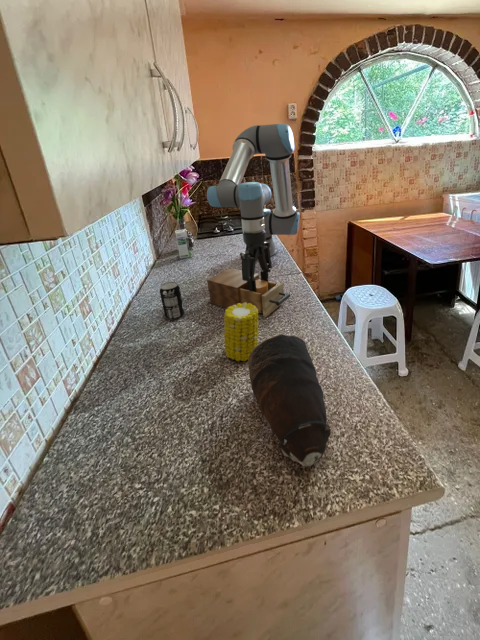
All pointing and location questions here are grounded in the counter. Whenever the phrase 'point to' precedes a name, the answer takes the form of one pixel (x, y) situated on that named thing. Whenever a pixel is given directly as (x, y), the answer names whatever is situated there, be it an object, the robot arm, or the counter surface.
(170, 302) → the beverage can
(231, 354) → the food
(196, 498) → the counter surface
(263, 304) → the drawer
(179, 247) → the syrup box
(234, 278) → the cabinet
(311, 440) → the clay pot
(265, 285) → the short wooden cylinder
